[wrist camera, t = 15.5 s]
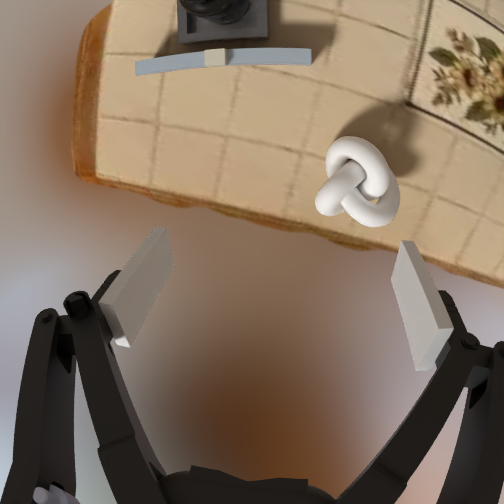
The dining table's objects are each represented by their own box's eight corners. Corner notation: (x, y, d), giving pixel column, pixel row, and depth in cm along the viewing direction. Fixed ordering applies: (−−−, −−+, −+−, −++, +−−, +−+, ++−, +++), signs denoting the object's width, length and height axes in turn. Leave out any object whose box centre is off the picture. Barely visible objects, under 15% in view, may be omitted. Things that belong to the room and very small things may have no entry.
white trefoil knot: (341, 226, 47) (348, 258, 40) (292, 167, 43) (289, 191, 36) (400, 185, 42) (419, 211, 34) (354, 120, 38) (367, 133, 31)
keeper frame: (267, -34, 27) (265, -40, 25) (269, 38, 33) (267, 36, 31) (183, -25, 29) (176, -30, 27) (184, 44, 35) (178, 43, 33)
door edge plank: (309, 51, 34) (311, 47, 29) (309, 65, 35) (311, 64, 30) (151, 60, 37) (130, 61, 31) (152, 74, 38) (131, 76, 33)
